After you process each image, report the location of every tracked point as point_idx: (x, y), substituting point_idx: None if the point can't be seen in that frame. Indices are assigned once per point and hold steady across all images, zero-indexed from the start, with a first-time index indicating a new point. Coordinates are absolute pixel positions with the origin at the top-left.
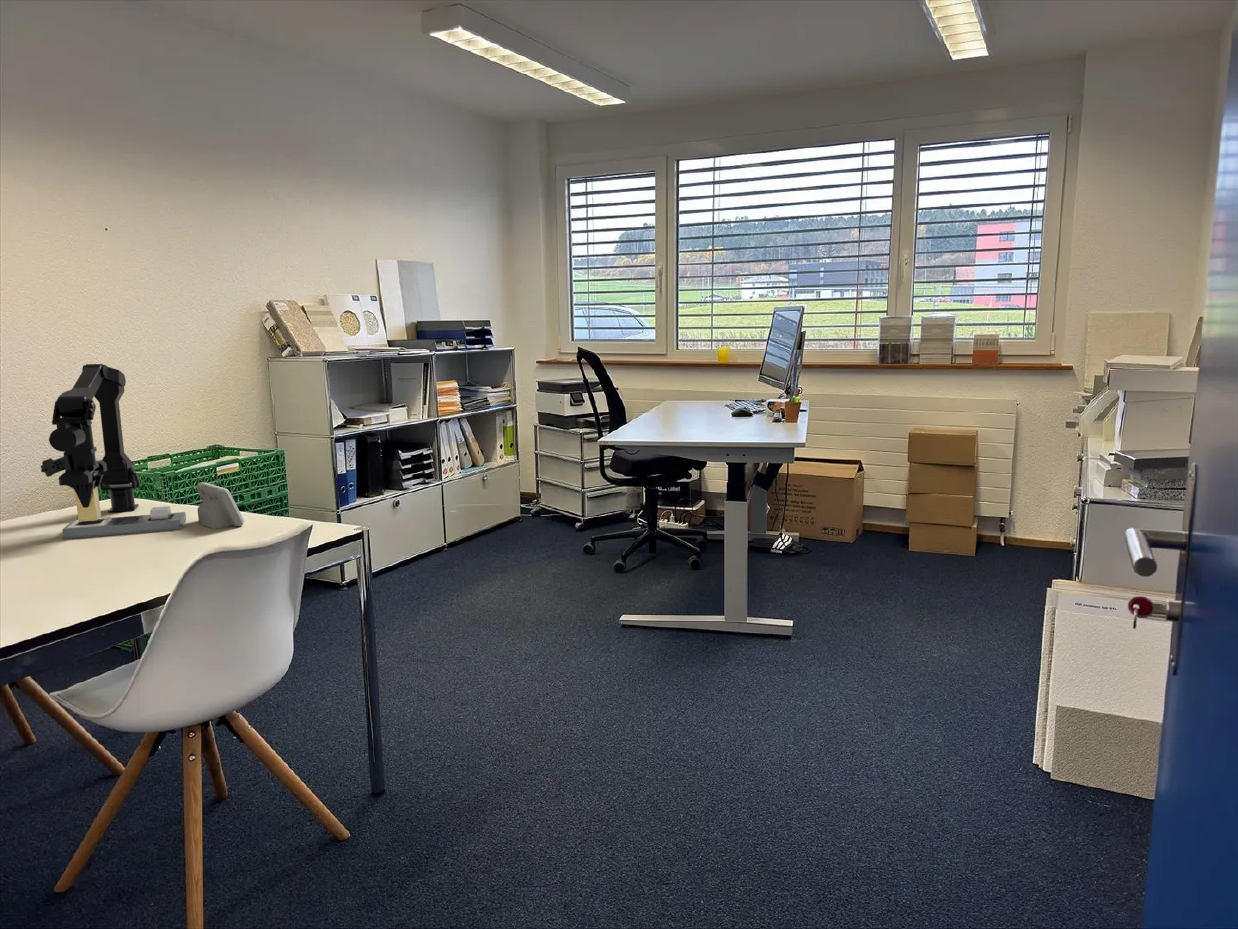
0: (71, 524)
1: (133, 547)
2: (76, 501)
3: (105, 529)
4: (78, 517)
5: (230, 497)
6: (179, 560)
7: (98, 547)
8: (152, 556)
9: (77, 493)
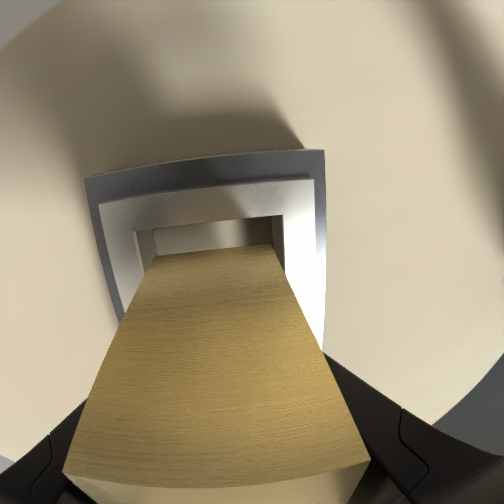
0: (172, 195)
1: (34, 417)
2: (105, 358)
3: None
4: (147, 271)
5: None
6: (4, 455)
7: (13, 350)
8: (3, 435)
9: (29, 462)
